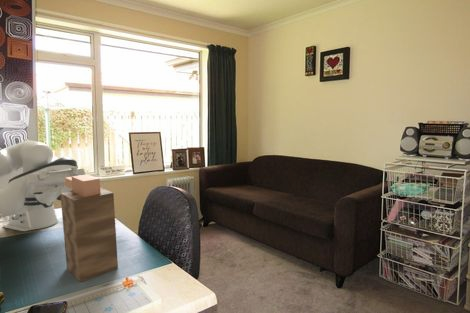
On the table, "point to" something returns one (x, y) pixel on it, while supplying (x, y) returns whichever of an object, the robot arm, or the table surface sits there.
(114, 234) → the walnut pedestal
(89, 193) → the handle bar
